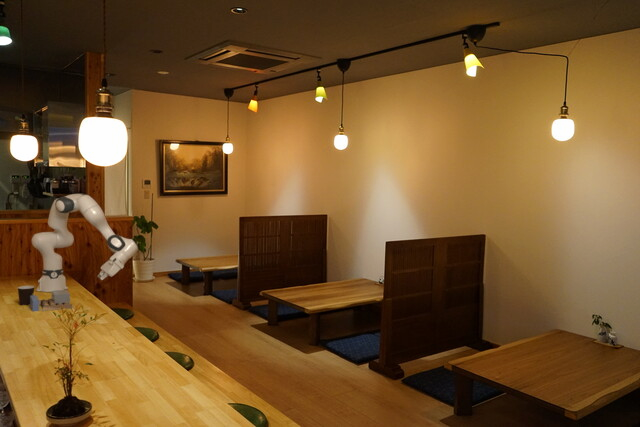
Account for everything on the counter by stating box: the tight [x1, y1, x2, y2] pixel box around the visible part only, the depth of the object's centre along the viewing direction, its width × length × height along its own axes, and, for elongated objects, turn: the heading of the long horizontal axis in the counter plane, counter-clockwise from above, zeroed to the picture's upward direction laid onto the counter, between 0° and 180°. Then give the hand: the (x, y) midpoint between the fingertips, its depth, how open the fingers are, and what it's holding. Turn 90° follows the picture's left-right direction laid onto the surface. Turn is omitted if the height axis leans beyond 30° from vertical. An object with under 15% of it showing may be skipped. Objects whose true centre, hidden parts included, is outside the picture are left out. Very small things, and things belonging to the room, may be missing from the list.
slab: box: [50, 289, 71, 304], centre depth 295 cm, size 12×8×5 cm, turn 36°
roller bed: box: [39, 298, 73, 312], centre depth 294 cm, size 18×15×3 cm
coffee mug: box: [17, 285, 35, 306], centre depth 297 cm, size 12×9×10 cm
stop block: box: [29, 294, 40, 312], centre depth 287 cm, size 14×3×6 cm, turn 36°
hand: (99, 278), depth 307 cm, fingers open, 5 cm apart
